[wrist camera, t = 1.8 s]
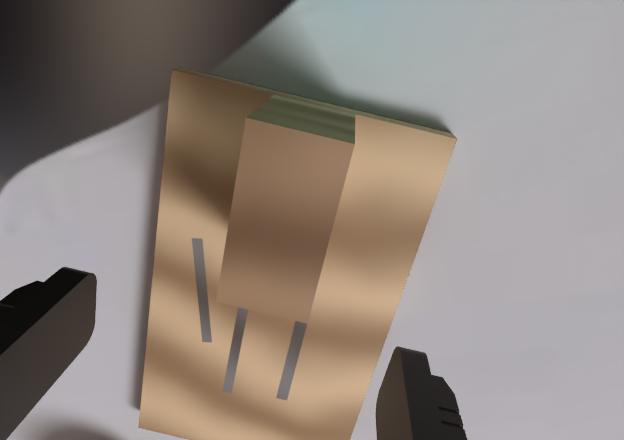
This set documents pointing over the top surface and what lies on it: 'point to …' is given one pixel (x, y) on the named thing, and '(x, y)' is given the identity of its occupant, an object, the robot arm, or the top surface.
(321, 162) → the block
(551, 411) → the top surface
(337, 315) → the board
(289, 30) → the top surface
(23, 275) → the top surface
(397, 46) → the top surface
